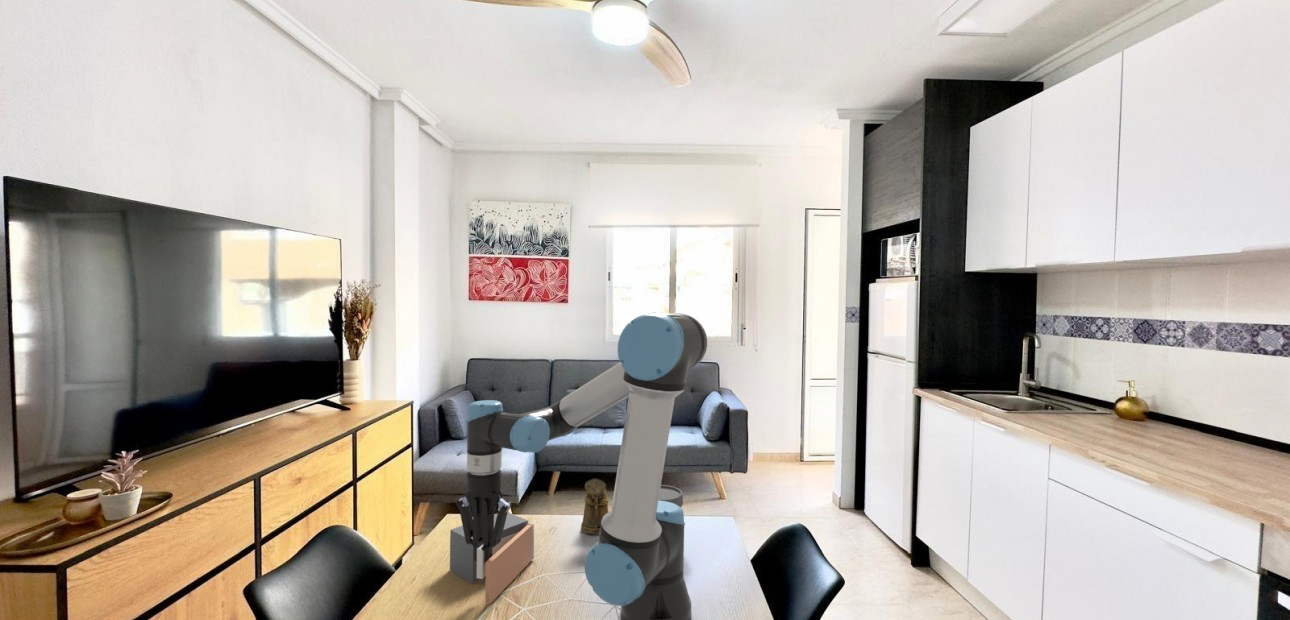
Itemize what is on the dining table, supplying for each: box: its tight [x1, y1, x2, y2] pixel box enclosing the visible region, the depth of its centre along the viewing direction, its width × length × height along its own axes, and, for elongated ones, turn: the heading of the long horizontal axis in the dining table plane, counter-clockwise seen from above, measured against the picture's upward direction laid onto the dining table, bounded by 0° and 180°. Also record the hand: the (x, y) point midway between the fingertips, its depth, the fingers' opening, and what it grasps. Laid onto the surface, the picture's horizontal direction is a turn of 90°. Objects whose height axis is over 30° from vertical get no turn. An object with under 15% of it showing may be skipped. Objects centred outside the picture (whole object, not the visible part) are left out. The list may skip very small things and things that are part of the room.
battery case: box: [449, 511, 529, 585], centre depth 129 cm, size 10×16×10 cm, turn 141°
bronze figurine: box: [580, 477, 609, 536], centre depth 149 cm, size 9×14×18 cm, turn 2°
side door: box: [485, 522, 535, 605], centre depth 121 cm, size 2×22×9 cm, turn 167°
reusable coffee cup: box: [659, 484, 684, 509], centre depth 140 cm, size 13×13×15 cm
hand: (482, 575), depth 114 cm, fingers closed
